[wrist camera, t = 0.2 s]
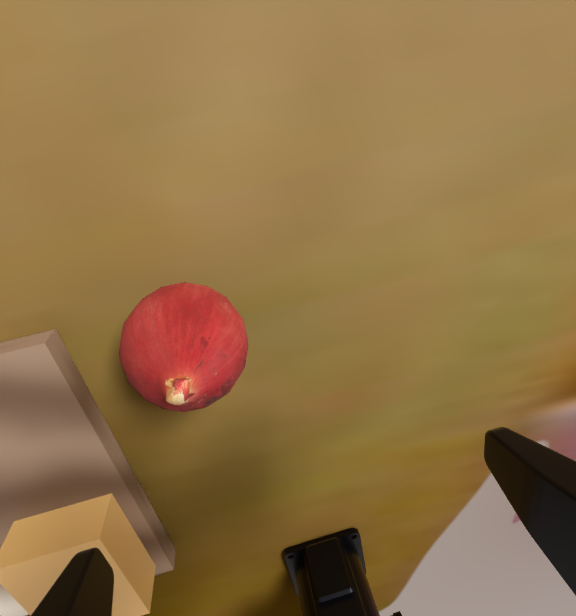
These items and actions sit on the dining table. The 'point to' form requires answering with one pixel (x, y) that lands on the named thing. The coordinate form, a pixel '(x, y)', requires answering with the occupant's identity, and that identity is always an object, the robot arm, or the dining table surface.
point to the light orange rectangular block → (67, 543)
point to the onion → (183, 347)
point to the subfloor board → (61, 448)
